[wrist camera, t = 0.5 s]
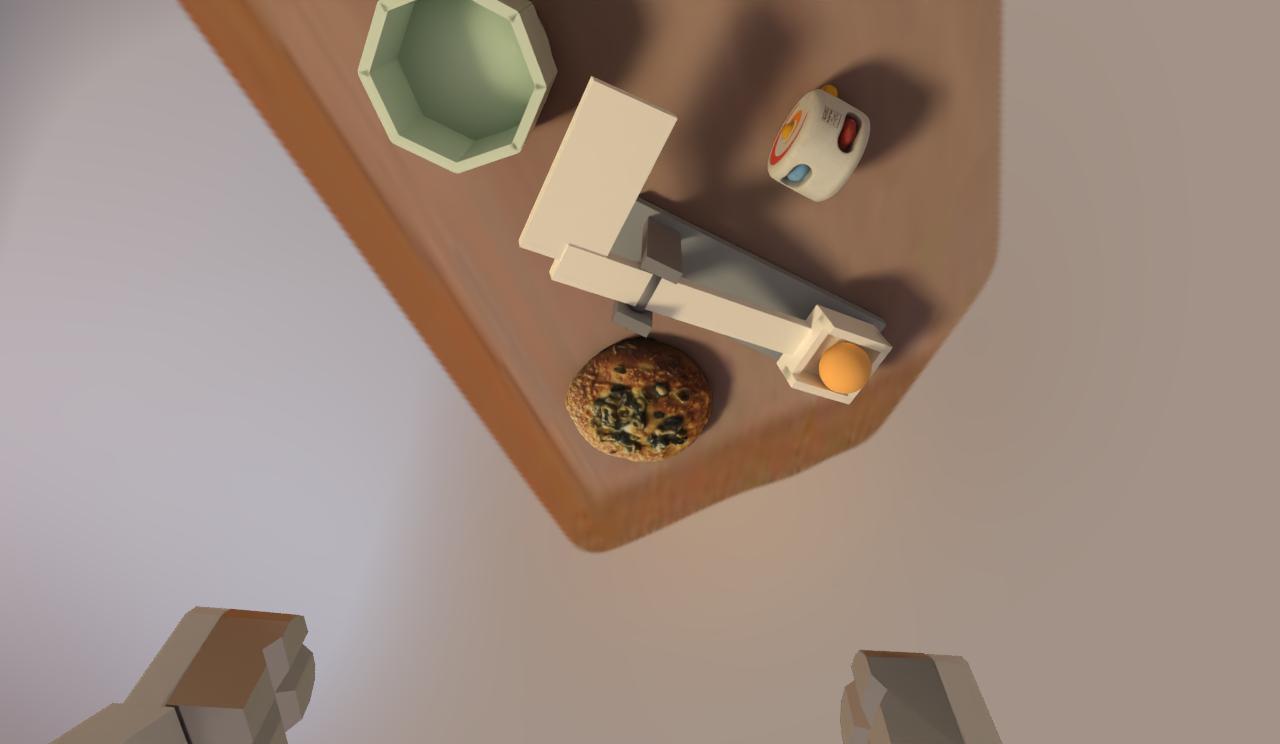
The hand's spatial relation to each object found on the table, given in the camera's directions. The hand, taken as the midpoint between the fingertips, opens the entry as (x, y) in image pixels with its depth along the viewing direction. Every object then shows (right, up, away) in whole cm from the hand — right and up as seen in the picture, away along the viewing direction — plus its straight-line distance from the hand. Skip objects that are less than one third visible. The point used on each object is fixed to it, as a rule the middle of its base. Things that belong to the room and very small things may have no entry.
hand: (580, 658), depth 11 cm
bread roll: (+1, +2, +48) cm, 48 cm away
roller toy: (+12, +20, +38) cm, 44 cm away
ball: (+15, +5, +41) cm, 44 cm away
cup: (-9, +23, +36) cm, 44 cm away
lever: (+7, +12, +37) cm, 39 cm away
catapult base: (+8, +10, +43) cm, 45 cm away
